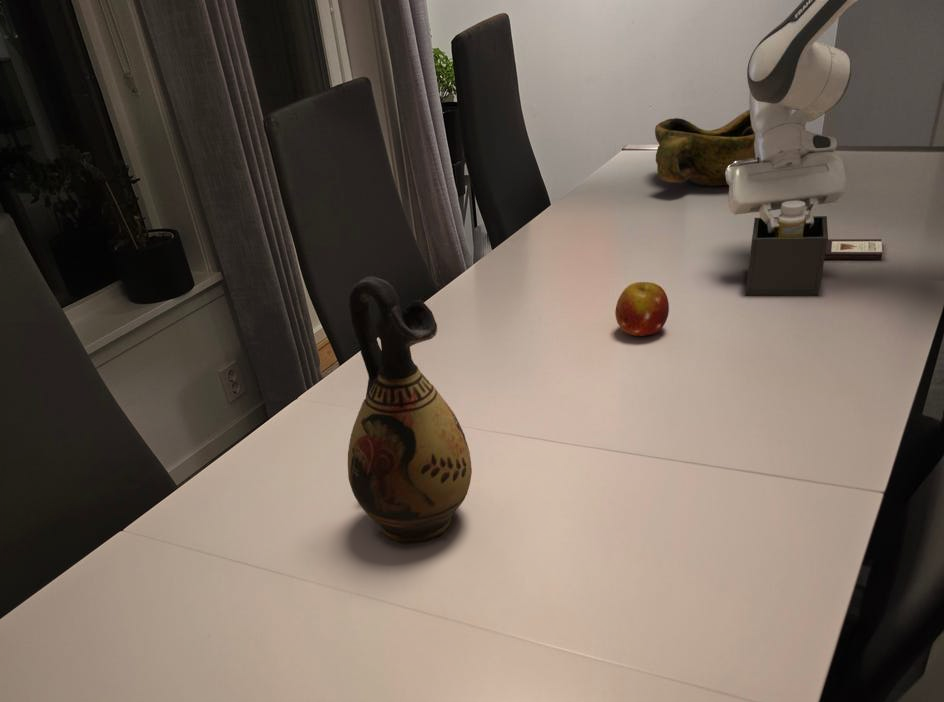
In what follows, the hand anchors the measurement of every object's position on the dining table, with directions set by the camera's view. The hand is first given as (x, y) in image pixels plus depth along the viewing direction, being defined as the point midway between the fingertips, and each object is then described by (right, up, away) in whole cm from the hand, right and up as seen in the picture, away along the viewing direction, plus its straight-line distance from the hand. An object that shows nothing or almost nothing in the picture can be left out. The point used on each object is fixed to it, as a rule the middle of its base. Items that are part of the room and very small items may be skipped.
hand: (791, 228), depth 150 cm
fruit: (-28, -20, -3) cm, 34 cm away
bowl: (+4, +44, +64) cm, 78 cm away
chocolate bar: (+14, +3, +16) cm, 22 cm away
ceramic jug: (-65, -58, -41) cm, 97 cm away
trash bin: (+1, -7, +7) cm, 10 cm away
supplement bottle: (0, -3, +3) cm, 5 cm away
